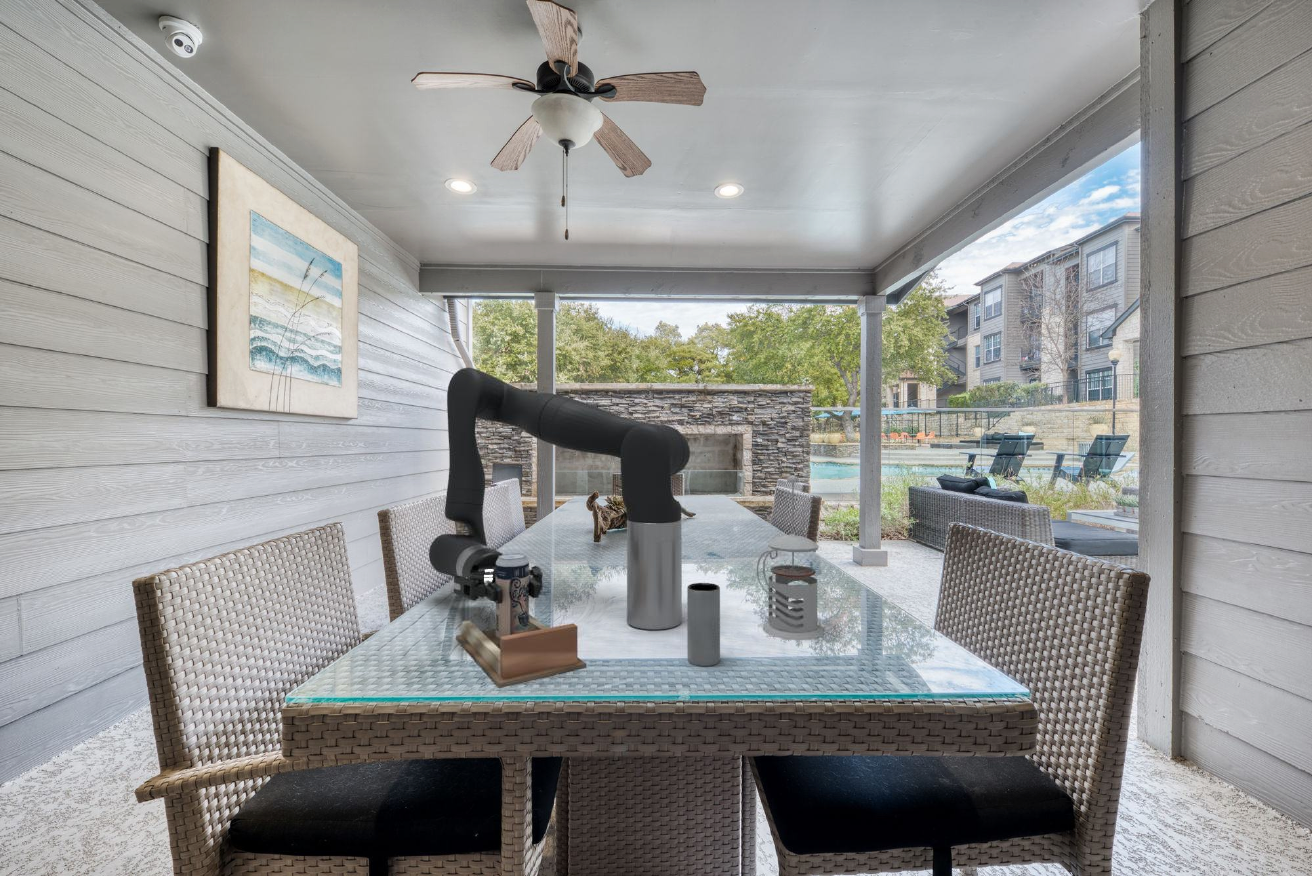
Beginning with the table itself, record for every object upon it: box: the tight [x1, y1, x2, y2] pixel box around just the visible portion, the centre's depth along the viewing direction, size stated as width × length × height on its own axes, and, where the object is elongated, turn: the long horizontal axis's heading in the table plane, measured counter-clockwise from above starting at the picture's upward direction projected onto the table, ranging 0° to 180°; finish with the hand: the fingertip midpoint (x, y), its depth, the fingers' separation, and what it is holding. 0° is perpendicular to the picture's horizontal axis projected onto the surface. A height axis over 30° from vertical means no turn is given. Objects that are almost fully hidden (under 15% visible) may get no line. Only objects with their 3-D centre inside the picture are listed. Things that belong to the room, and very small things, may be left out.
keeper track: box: [455, 614, 587, 688], centre depth 85 cm, size 21×12×6 cm, turn 33°
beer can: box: [495, 552, 530, 639], centre depth 87 cm, size 5×5×12 cm
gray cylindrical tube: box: [686, 582, 721, 667], centre depth 82 cm, size 4×4×10 cm
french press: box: [756, 474, 825, 641], centre depth 96 cm, size 10×12×25 cm
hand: (518, 593), depth 84 cm, fingers closed on beer can, 4 cm apart
